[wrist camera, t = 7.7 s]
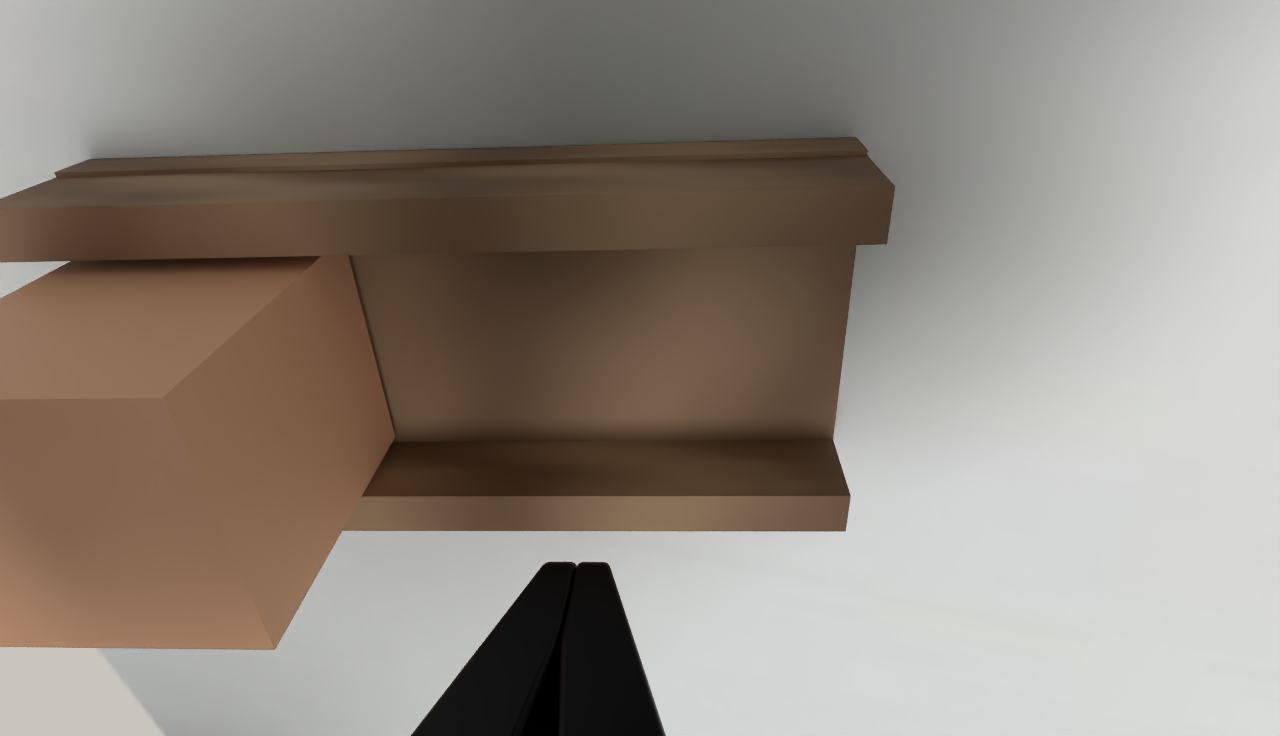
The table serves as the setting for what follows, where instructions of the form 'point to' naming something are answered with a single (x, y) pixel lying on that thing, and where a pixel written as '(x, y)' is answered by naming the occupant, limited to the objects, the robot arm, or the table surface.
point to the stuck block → (179, 447)
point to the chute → (546, 313)
